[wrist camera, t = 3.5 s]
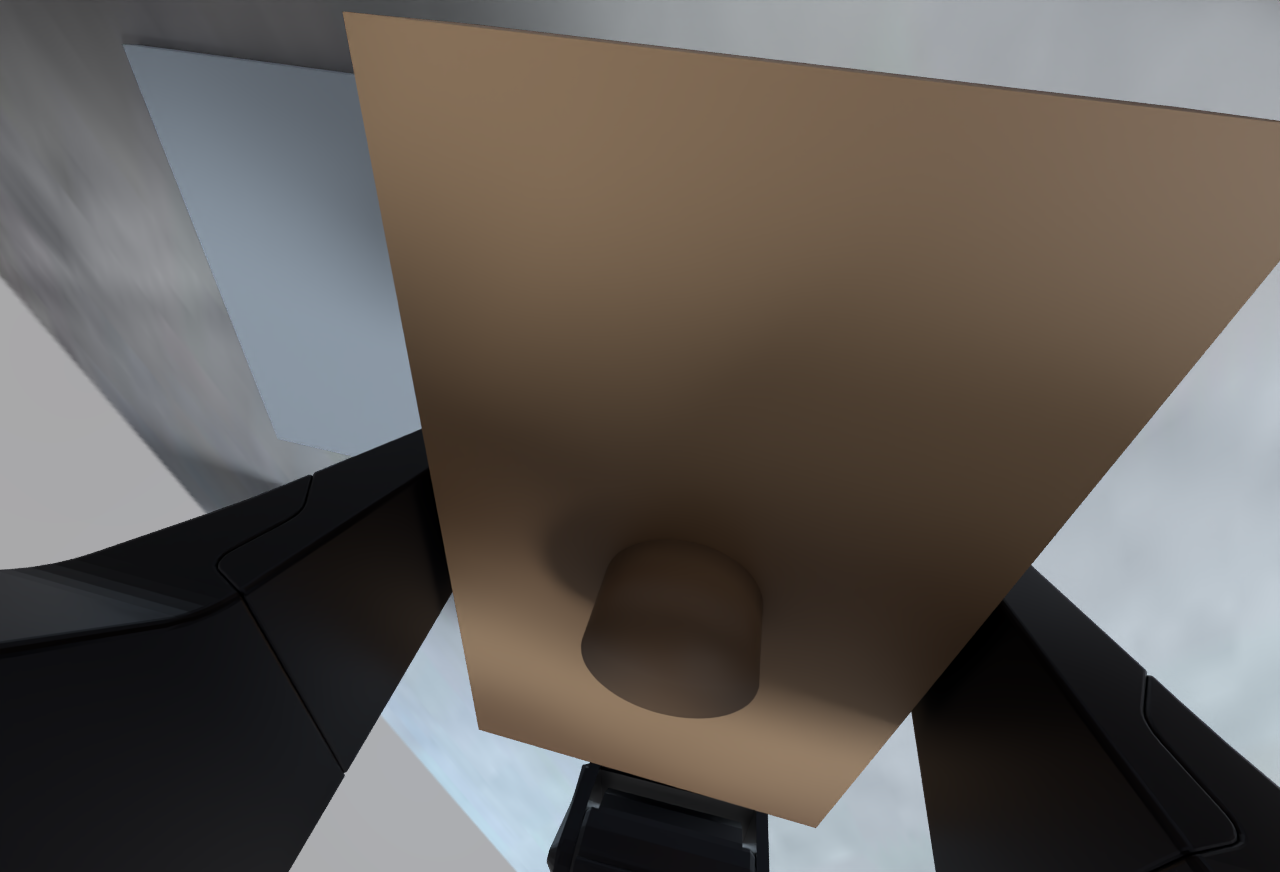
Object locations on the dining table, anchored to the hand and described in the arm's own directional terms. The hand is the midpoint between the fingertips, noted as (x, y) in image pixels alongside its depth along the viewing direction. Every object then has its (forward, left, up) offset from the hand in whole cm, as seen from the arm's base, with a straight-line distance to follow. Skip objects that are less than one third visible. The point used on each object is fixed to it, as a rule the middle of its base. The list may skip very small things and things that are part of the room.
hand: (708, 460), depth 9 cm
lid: (0, 0, +1) cm, 1 cm away
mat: (-4, +15, -10) cm, 19 cm away
